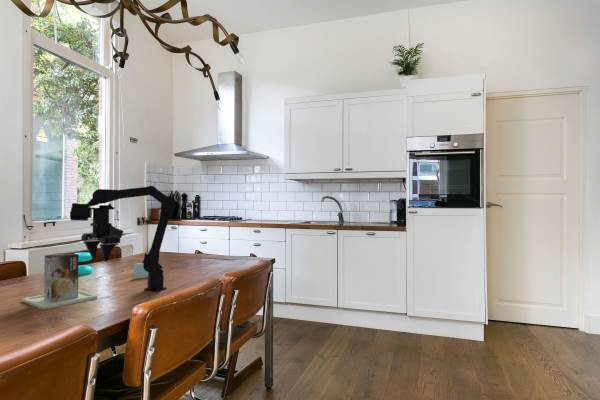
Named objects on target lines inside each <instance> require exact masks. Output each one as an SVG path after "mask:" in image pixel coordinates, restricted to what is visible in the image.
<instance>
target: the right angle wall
mask: <svg viewBox="0 0 600 400" xmlns="http://www.w3.org/2000/svg"><path fill="white" fill-rule="evenodd" d="M143 264H144V263H142V262H141V263H139V262H138V263H134V264H133V279H134V280H137V279H144V278H148V274H149V273H148V272H147V271H145V270H144V268H143Z"/></svg>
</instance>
